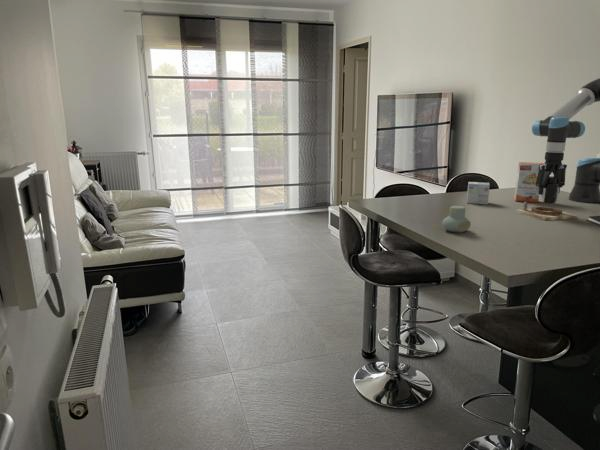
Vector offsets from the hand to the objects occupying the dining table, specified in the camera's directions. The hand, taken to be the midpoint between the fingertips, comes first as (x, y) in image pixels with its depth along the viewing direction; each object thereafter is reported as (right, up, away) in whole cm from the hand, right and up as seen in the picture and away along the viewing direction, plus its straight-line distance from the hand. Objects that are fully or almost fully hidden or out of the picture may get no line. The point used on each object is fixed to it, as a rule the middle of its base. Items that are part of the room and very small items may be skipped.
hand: (547, 201), depth 214 cm
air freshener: (-52, -14, -27) cm, 60 cm away
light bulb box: (-22, 0, +29) cm, 37 cm away
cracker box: (+8, +1, +34) cm, 35 cm away
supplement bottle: (0, -1, 0) cm, 1 cm away
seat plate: (0, -6, +2) cm, 7 cm away
